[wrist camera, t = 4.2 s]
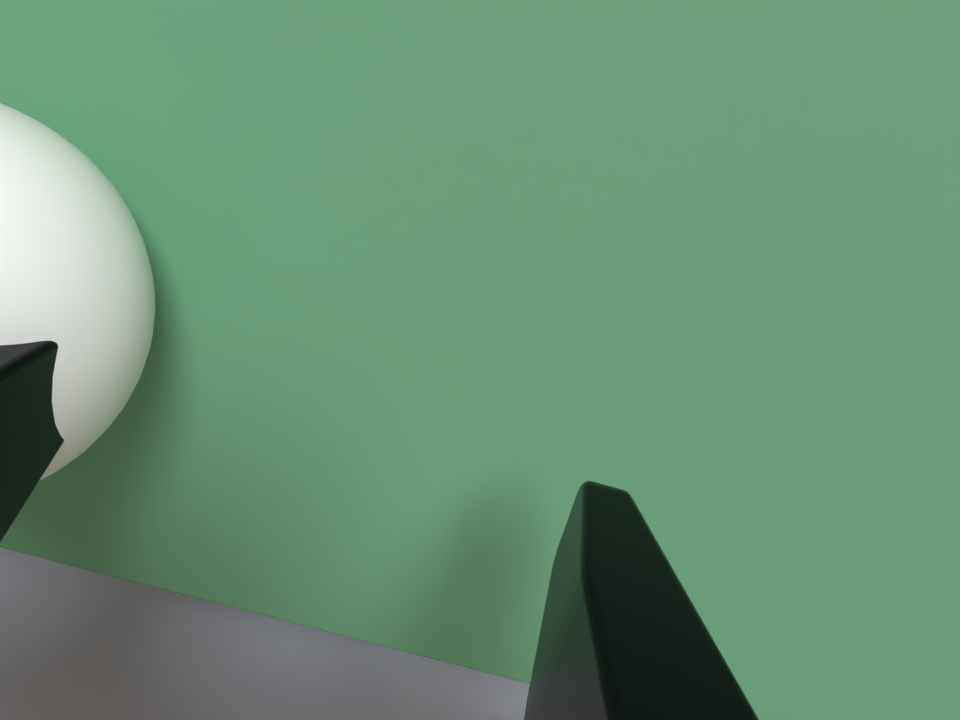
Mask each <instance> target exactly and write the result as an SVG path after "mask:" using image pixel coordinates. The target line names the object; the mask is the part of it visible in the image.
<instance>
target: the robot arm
mask: <svg viewBox="0 0 960 720" xmlns="http://www.w3.org/2000/svg"><path fill="white" fill-rule="evenodd" d="M57 351H58V344H57V343H56V342H53V341H39V342H32V343H24V344H13V345H0V543H1V541H2V540H3V538H4V536H5V535H6V533H7V532H8V530H9V528H10V527H11V525H12V524H13V522H14V520H15V519H16V517H17V516H18V514H19V512H20V511H21V509H22V508H23V506H24V504H25V503H26V501H27V500H28V498H29V497H30V495H31V493H32V492H33V490H34V489H35V487H36V485H37V484H38V482H39V481H40V479H41V477H42V476H43V474H44V473H45V471H46V469H47V468H48V466H49V465H50V463H51V461H52V460H53V458H54V457H55V455H56V453H57V452H58V450H59V449H60V447H61V445H62V444H63V442H64V439H63V438H62V437H61V435H60V433H59V431H58V429H57V427H56V424H55V420H54V413H53V407H52V385H53V372H54V367H55V361H56V356H57ZM524 720H759V719H758V717H757V715H756V713H755V712H754V710H753V708H752V706H751V705H750V703H749V701H748V699H747V698H746V696H745V694H744V692H743V691H742V689H741V687H740V685H739V684H738V682H737V680H736V678H735V677H734V675H733V673H732V671H731V670H730V668H729V666H728V664H727V663H726V661H725V659H724V657H723V656H722V654H721V652H720V650H719V649H718V647H717V645H716V643H715V642H714V640H713V638H712V636H711V635H710V633H709V631H708V629H707V628H706V626H705V624H704V622H703V621H702V619H701V617H700V615H699V614H698V612H697V610H696V608H695V607H694V605H693V603H692V601H691V600H690V598H689V596H688V594H687V593H686V591H685V589H684V587H683V586H682V584H681V582H680V580H679V579H678V577H677V575H676V573H675V572H674V570H673V568H672V566H671V565H670V563H669V561H668V559H667V558H666V556H665V554H664V552H663V551H662V549H661V547H660V545H659V544H658V542H657V540H656V538H655V537H654V535H653V533H652V531H651V530H650V528H649V526H648V524H647V523H646V521H645V519H644V517H643V516H642V514H641V512H640V510H639V509H638V507H637V505H636V503H635V502H634V500H633V498H632V497H631V495H630V494H629V493H628V492H627V491H625V490H622V489H619V488H615V487H611V486H608V485H604V484H600V483H597V482H593V481H586V482H584V483H583V484H582V485H581V486H580V488H579V490H578V493H577V495H576V498H575V501H574V503H573V506H572V509H571V512H570V515H569V517H568V520H567V523H566V526H565V529H564V531H563V534H562V537H561V540H560V543H559V546H558V548H557V552H556V555H555V559H554V563H553V567H552V572H551V577H550V582H549V588H548V593H547V598H546V603H545V609H544V614H543V619H542V624H541V630H540V635H539V640H538V645H537V651H536V656H535V661H534V666H533V672H532V677H531V682H530V687H529V693H528V698H527V704H526V711H525V717H524Z"/></svg>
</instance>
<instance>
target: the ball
mask: <svg viewBox="0 0 960 720" xmlns="http://www.w3.org/2000/svg"><path fill="white" fill-rule="evenodd" d="M154 318H155V289H154V280H153V275H152V270H151V265H150V261H149V257H148V253H147V250H146V247H145V244H144V241H143V238H142V235H141V233H140V231H139V229H138V226H137V224H136V222H135V220H134V218H133V216H132V214H131V212H130V211H129V209H128V207H127V205H126V203H125V202H124V200H123V199H122V197H121V196H120V194H119V192H118V191H117V190H116V188H115V187H114V186H113V185H112V183H111V182H110V181H109V179H108V178H107V177H106V176H105V175H104V174H103V173H102V172H101V171H100V170H99V169H98V168H97V167H96V165H95V164H94V163H93V162H92V161H91V160H90V159H89V158H88V157H87V156H86V155H85V154H84V153H82V152H81V151H80V150H79V149H78V148H77V147H76V146H74V145H73V144H71V143H70V142H69V141H67V140H66V139H65V138H63V137H62V136H61V135H59V134H58V133H56V132H55V131H54V130H52V129H51V128H49V127H48V126H46V125H44V124H43V123H41V122H39V121H37V120H35V119H33V118H31V117H29V116H28V115H26V114H24V113H22V112H20V111H17V110H15V109H13V108H11V107H9V106H6V105H3V104H1V103H0V345H13V344H24V343H32V342H39V341H53V342H56V343H57V344H58V351H57V356H56V361H55V367H54V372H53V385H52V407H53V413H54V420H55V424H56V427H57V429H58V431H59V433H60V435H61V437H62V438H63V439H64V442H63V444H62V445H61V447H60V449H59V450H58V452H57V453H56V455H55V457H54V458H53V460H52V461H51V463H50V465H49V466H48V468H47V469H46V471H45V473H44V474H43V476H42V477H41V479H40V480H42V479H44V478H46V477H48V476H49V475H51V474H53V473H55V472H56V471H58V470H59V469H61V468H63V467H64V466H65V465H67V464H68V463H70V462H71V461H72V460H74V459H75V458H76V457H78V456H79V455H80V454H82V453H83V452H85V451H86V450H87V449H88V448H89V447H90V446H91V445H92V444H93V443H94V442H95V441H96V440H97V439H98V438H99V437H100V436H101V435H102V434H103V433H104V432H105V431H106V430H107V428H108V427H109V426H110V425H111V424H112V422H113V421H114V420H115V418H116V417H117V416H118V415H119V413H120V412H121V411H122V409H123V408H124V406H125V405H126V403H127V401H128V399H129V398H130V396H131V394H132V392H133V390H134V388H135V386H136V385H137V383H138V381H139V379H140V377H141V374H142V371H143V368H144V365H145V362H146V359H147V356H148V353H149V350H150V346H151V341H152V336H153V327H154Z"/></svg>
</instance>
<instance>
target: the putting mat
mask: <svg viewBox="0 0 960 720" xmlns="http://www.w3.org/2000/svg"><path fill="white" fill-rule="evenodd" d="M0 103H1V104H3V105H6V106H9V107H11V108H13V109H15V110H17V111H20V112H22V113H24V114H26V115H28V116H29V117H31V118H33V119H35V120H37V121H39V122H41V123H43V124H44V125H46V126H48V127H49V128H51V129H52V130H54V131H55V132H56V133H58V134H59V135H61V136H62V137H63V138H65V139H66V140H67V141H69V142H70V143H71V144H73V145H74V146H76V147H77V148H78V149H79V150H80V151H81V152H82V153H84V154H85V155H86V156H87V157H88V158H89V159H90V160H91V161H92V162H93V163H94V164H95V165H96V167H97V168H98V169H99V170H100V171H101V172H102V173H103V174H104V175H105V176H106V177H107V178H108V179H109V181H110V182H111V183H112V185H113V186H114V187H115V188H116V190H117V191H118V192H119V194H120V196H121V197H122V199H123V200H124V202H125V203H126V205H127V207H128V209H129V211H130V212H131V214H132V216H133V218H134V220H135V222H136V224H137V226H138V229H139V231H140V233H141V235H142V238H143V241H144V244H145V247H146V250H147V253H148V257H149V261H150V265H151V270H152V275H153V280H154V289H155V318H154V327H153V336H152V341H151V346H150V350H149V353H148V356H147V359H146V362H145V365H144V368H143V371H142V374H141V377H140V379H139V381H138V383H137V385H136V386H135V388H134V390H133V392H132V394H131V396H130V398H129V399H128V401H127V403H126V405H125V406H124V408H123V409H122V411H121V412H120V413H119V415H118V416H117V417H116V418H115V420H114V421H113V422H112V424H111V425H110V426H109V427H108V428H107V430H106V431H105V432H104V433H103V434H102V435H101V436H100V437H99V438H98V439H97V440H96V441H95V442H94V443H93V444H92V445H91V446H90V447H89V448H88V449H87V450H86V451H85V452H83V453H82V454H80V455H79V456H78V457H76V458H75V459H74V460H72V461H71V462H70V463H68V464H67V465H65V466H64V467H63V468H61V469H59V470H58V471H56V472H55V473H53V474H51V475H49V476H48V477H46V478H44V479H42V480H40V481H39V482H38V484H37V485H36V487H35V489H34V490H33V492H32V493H31V495H30V497H29V498H28V500H27V501H26V503H25V504H24V506H23V508H22V509H21V511H20V512H19V514H18V516H17V517H16V519H15V520H14V522H13V524H12V525H11V527H10V528H9V530H8V532H7V533H6V535H5V536H4V538H3V540H2V541H1V543H0V547H2V548H6V549H10V550H14V551H18V552H22V553H26V554H30V555H33V556H37V557H41V558H45V559H49V560H53V561H57V562H61V563H64V564H68V565H72V566H76V567H80V568H84V569H88V570H92V571H95V572H99V573H103V574H107V575H111V576H115V577H119V578H122V579H126V580H130V581H134V582H138V583H142V584H146V585H150V586H153V587H157V588H161V589H165V590H169V591H173V592H177V593H181V594H184V595H188V596H192V597H196V598H200V599H204V600H208V601H212V602H215V603H219V604H223V605H227V606H231V607H235V608H239V609H243V610H246V611H250V612H254V613H258V614H262V615H266V616H270V617H274V618H277V619H281V620H285V621H289V622H293V623H297V624H301V625H305V626H308V627H312V628H316V629H320V630H324V631H328V632H332V633H336V634H339V635H343V636H347V637H351V638H355V639H359V640H363V641H367V642H370V643H374V644H378V645H382V646H386V647H390V648H394V649H397V650H401V651H405V652H409V653H413V654H417V655H421V656H425V657H428V658H432V659H436V660H440V661H444V662H448V663H452V664H456V665H459V666H463V667H467V668H471V669H475V670H479V671H483V672H487V673H490V674H494V675H498V676H502V677H506V678H510V679H514V680H518V681H521V682H525V683H529V684H530V682H531V677H532V672H533V666H534V661H535V656H536V651H537V645H538V640H539V635H540V630H541V624H542V619H543V614H544V609H545V603H546V598H547V593H548V588H549V582H550V577H551V572H552V567H553V563H554V559H555V555H556V552H557V548H558V546H559V543H560V540H561V537H562V534H563V531H564V529H565V526H566V523H567V520H568V517H569V515H570V512H571V509H572V506H573V503H574V501H575V498H576V495H577V493H578V490H579V488H580V486H581V485H582V484H583V483H584V482H586V481H593V482H597V483H600V484H604V485H608V486H611V487H615V488H619V489H622V490H625V491H627V492H628V493H629V494H630V495H631V497H632V498H633V500H634V502H635V503H636V505H637V507H638V509H639V510H640V512H641V514H642V516H643V517H644V519H645V521H646V523H647V524H648V526H649V528H650V530H651V531H652V533H653V535H654V537H655V538H656V540H657V542H658V544H659V545H660V547H661V549H662V551H663V552H664V554H665V556H666V558H667V559H668V561H669V563H670V565H671V566H672V568H673V570H674V572H675V573H676V575H677V577H678V579H679V580H680V582H681V584H682V586H683V587H684V589H685V591H686V593H687V594H688V596H689V598H690V600H691V601H692V603H693V605H694V607H695V608H696V610H697V612H698V614H699V615H700V617H701V619H702V621H703V622H704V624H705V626H706V628H707V629H708V631H709V633H710V635H711V636H712V638H713V640H714V642H715V643H716V645H717V647H718V649H719V650H720V652H721V654H722V656H723V657H724V659H725V661H726V663H727V664H728V666H729V668H730V670H731V671H732V673H733V675H734V677H735V678H736V680H737V682H738V684H739V685H740V687H741V689H742V691H743V692H744V694H745V696H746V698H747V699H748V701H749V703H750V705H751V706H752V708H753V710H754V712H755V713H756V715H757V717H758V719H759V720H960V0H0Z"/></svg>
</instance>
